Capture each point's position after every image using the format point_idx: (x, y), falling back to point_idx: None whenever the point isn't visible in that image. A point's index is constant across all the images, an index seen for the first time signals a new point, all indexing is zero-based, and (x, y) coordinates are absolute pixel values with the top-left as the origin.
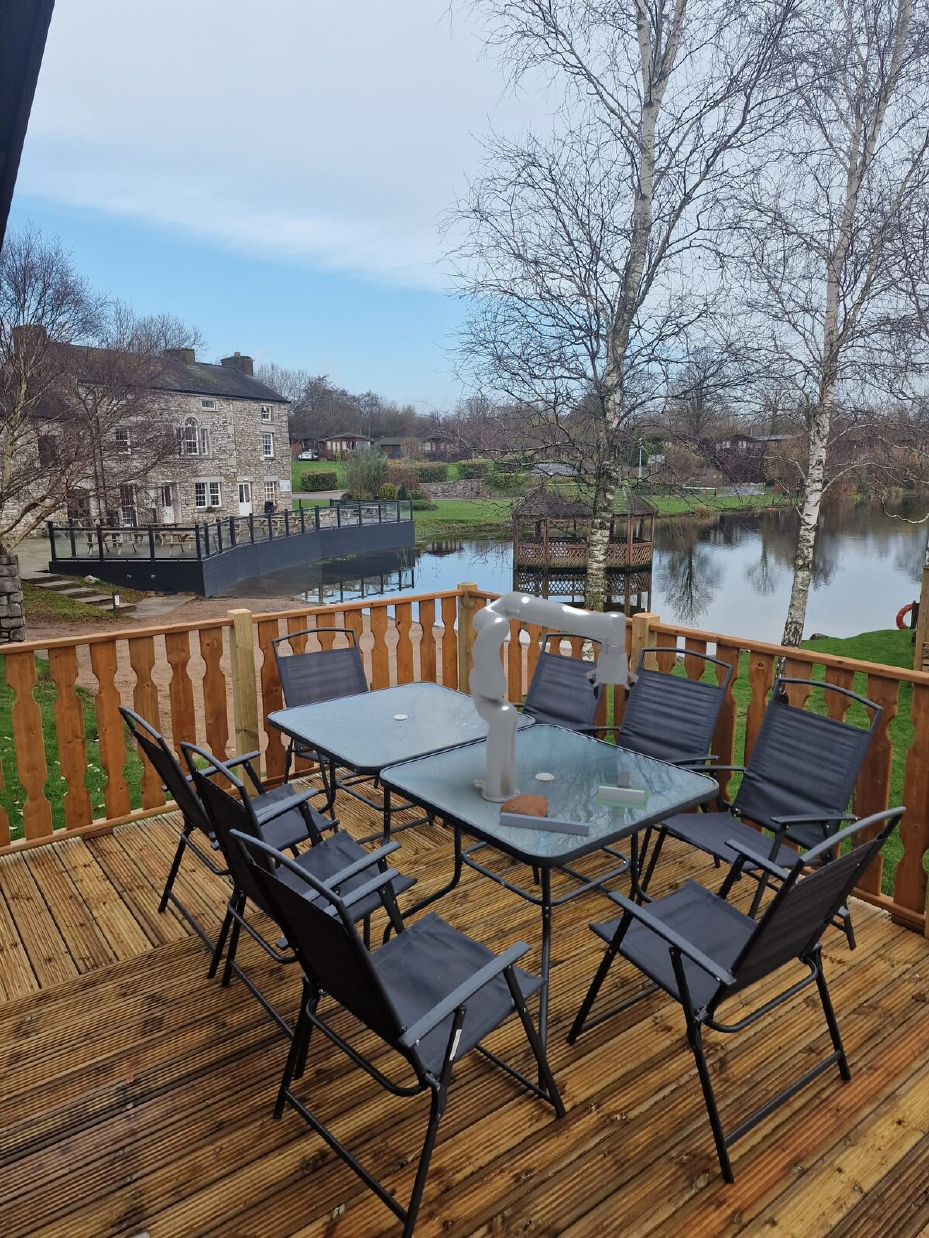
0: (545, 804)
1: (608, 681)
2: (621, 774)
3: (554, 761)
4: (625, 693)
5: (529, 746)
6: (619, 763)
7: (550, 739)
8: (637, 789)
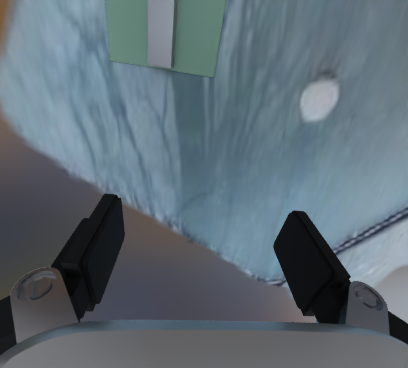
0: None
1: (284, 358)
2: (167, 42)
3: (283, 174)
4: (91, 234)
5: None
6: (176, 182)
7: (272, 246)
8: (134, 46)
